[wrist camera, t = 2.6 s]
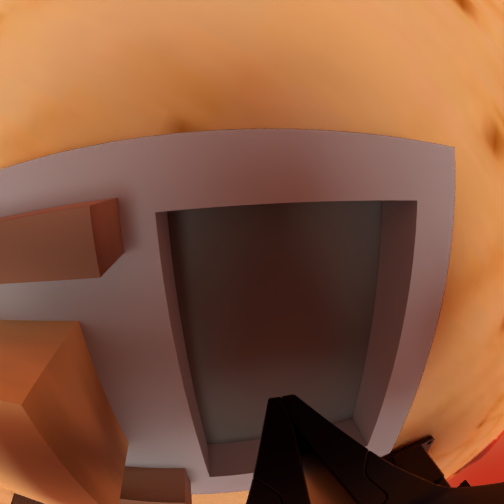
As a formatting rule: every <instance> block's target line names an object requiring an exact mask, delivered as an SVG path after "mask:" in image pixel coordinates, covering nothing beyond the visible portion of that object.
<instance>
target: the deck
mask: <svg viewBox="0 0 504 504" xmlns="http://www.w3.org/2000/svg"><path fill="white" fill-rule="evenodd" d="M117 197H118V207H119V216H120V225H121V233H122V240H123V247H124V254H123V255H122V256H121V257H120V258H119V259H118V260H117V261H116V262H115V263H114V264H113V265H112V266H111V267H110V268H109V269H108V270H107V271H106V272H105V273H104V274H103V276H102V277H101V278H89V279H74V280H59V281H43V282H26V283H9V284H0V320H33V321H79V324H80V327H81V330H82V333H83V336H84V340H85V343H86V346H87V348H88V351H89V354H90V357H91V360H92V362H93V365H94V368H95V370H96V373H97V376H98V378H99V381H100V383H101V386H102V388H103V390H104V393H105V395H106V397H107V400H108V402H109V404H110V406H111V408H112V411H113V413H114V415H115V417H116V419H117V421H118V423H119V425H120V427H121V429H122V431H123V433H124V435H125V437H126V439H127V441H128V443H129V446H128V451H127V457H126V462H125V466H129V467H144V468H185V470H186V473H187V475H188V477H189V479H190V482H191V494H214V493H227V492H238V491H247V490H250V487H251V483H252V479H253V474H254V469H255V464H256V460H257V455H258V450H259V445H260V439H261V434H262V429H263V424H264V418H265V413H266V408H267V402H268V399H269V398H273V397H281V398H282V396H285V395H291V394H294V395H296V396H297V397H299V398H300V399H301V400H303V401H304V402H305V403H306V404H308V405H309V406H310V407H311V408H313V409H314V410H315V411H317V412H318V413H319V414H321V415H322V416H323V417H324V418H326V419H327V420H328V421H330V422H331V423H332V424H334V425H335V426H337V427H338V428H339V429H341V430H342V431H343V432H345V433H346V434H348V435H349V436H350V437H352V438H353V439H355V440H356V441H357V442H359V443H360V444H362V445H363V446H365V447H366V448H367V449H369V451H372V452H373V453H375V454H376V455H378V456H379V457H382V456H384V455H387V454H389V453H390V452H391V450H392V448H393V446H394V444H395V442H396V440H397V437H398V435H399V433H400V431H401V429H402V426H403V424H404V422H405V420H406V417H407V415H408V412H409V410H410V407H411V405H412V402H413V400H414V397H415V394H416V392H417V389H418V386H419V383H420V381H421V378H422V375H423V372H424V369H425V365H426V362H427V359H428V356H429V352H430V349H431V345H432V342H433V338H434V334H435V330H436V326H437V322H438V318H439V314H440V309H441V305H442V300H443V295H444V289H445V284H446V278H447V272H448V265H449V258H450V250H451V242H452V231H453V219H454V202H455V149H454V147H451V146H446V145H441V144H436V143H430V142H424V141H419V140H412V139H406V138H399V137H392V136H384V135H375V134H366V133H356V132H344V131H330V130H310V129H230V130H211V131H197V132H185V133H174V134H165V135H156V136H148V137H141V138H134V139H127V140H121V141H114V142H109V143H103V144H98V145H92V146H87V147H83V148H78V149H73V150H69V151H64V152H60V153H56V154H52V155H48V156H44V157H40V158H37V159H33V160H29V161H26V162H23V163H19V164H16V165H13V166H9V167H6V168H3V169H0V218H2V217H6V216H11V215H16V214H20V213H25V212H30V211H36V210H41V209H46V208H52V207H58V206H64V205H70V204H76V203H82V202H89V201H96V200H103V199H110V198H117Z"/></svg>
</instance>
